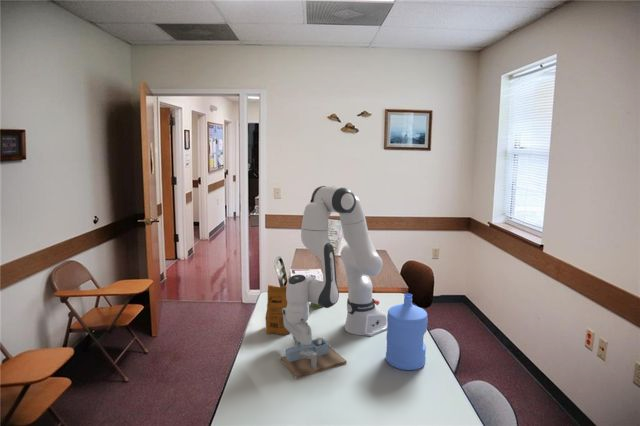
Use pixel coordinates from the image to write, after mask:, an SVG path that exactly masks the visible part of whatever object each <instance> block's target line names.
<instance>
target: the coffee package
mask: <svg viewBox="0 0 640 426" xmlns="http://www.w3.org/2000/svg"><path fill="white" fill-rule="evenodd" d="M286 288H287V285H283V286H276V285H269V284H268V285H267V303H266V313H265V333H266V334H267V335H271V334H275V335H279V336H280V335H289V334H291V333H290V332H289V331H288V330H287V329H286V328H285V327H284V324H283V313H282V309H283V308H286V307H287V300H286Z"/></svg>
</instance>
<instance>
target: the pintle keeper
mask: <svg viewBox="0 0 640 426" xmlns="http://www.w3.org/2000/svg"><path fill="white" fill-rule="evenodd" d="M321 338H322V337H318V338H316V339H317V346H320V345H322V339H321ZM299 357H303V358H307V359H310V358H311V369H317V352H314V351H311V350H306V349H303V350H302V351H301V352H300V353H299Z"/></svg>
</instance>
